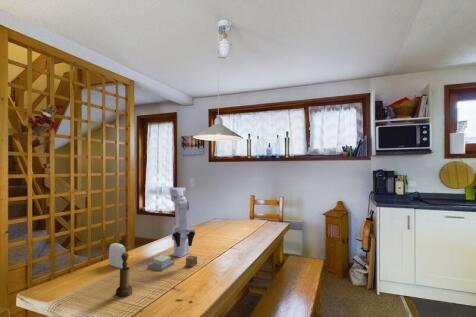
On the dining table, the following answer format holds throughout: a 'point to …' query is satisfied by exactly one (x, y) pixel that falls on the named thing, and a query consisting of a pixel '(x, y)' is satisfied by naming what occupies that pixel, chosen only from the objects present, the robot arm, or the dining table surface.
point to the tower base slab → (159, 267)
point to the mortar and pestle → (124, 279)
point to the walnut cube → (191, 261)
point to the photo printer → (116, 255)
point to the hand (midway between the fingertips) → (184, 246)
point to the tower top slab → (161, 260)
